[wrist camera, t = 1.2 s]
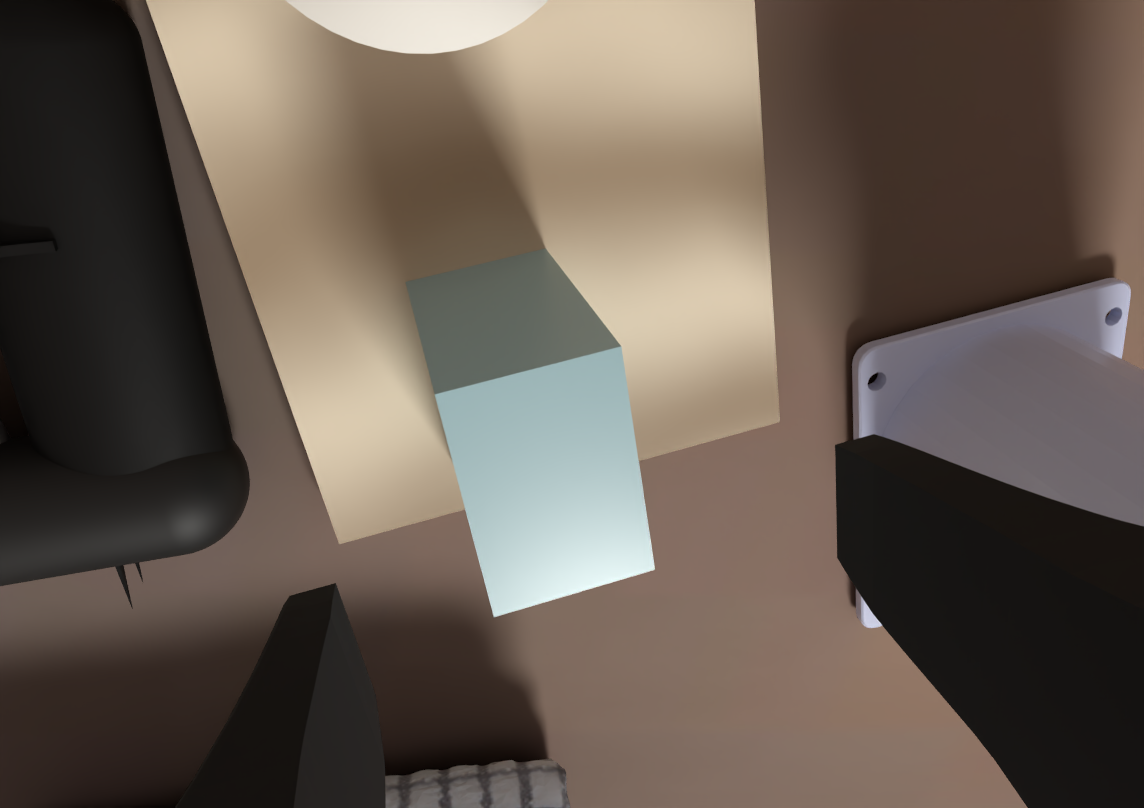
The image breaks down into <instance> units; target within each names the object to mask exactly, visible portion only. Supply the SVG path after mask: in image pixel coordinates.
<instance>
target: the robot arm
mask: <svg viewBox="0 0 1144 808" xmlns="http://www.w3.org/2000/svg"><path fill="white" fill-rule="evenodd" d="M1130 297H1131V288H1130V286H1129V285H1128V283H1126V282H1124V281H1121V280H1119V279H1116V278H1106V279H1103V280H1099V281H1095V282H1091V283H1088V284H1084V285H1080V286H1076V287H1073V288H1069V289H1065V290H1062V291H1058V292H1054V293H1050V294H1047V295H1043V296H1039V297H1035V298H1032V299H1028V300H1024V301H1020V302H1017V303H1013V304H1009V305H1006V306H1002V307H998V308H994V309H991V310H987V311H983V312H979V313H976V314H972V315H968V316H965V317H961V318H957V319H953V320H950V321H946V322H942V323H938V324H935V325H931V326H927V327H924V328H920V329H916V330H912V331H909V332H905V333H901V334H897V335H894V336H890V337H886V338H882V339H879V340H875V341H871V342H868V343H866V344H864V345H863V346H861V347H860V348H859V349H858V350H857V352H856V353H855V355H854V357H853V362H852V382H853V440H851V441H847V442H844V443H840V444H837V445H835V455H836V508H837V558H838V560H839V561H840V563H841V564H842V566H843V568H844V569H845V571H846V573H847V574H848V576H849V578H850V579H851V581H852V582H853V584H854V586H855V587H856V614H857V618H858V619H859V620H860V621H861V623H862V624H863V625H864V626H865V627H868V628H875V627H879V626H883V627H884V628H885V629H886V630H887V632H888V633H889V634H890V635H891V636H892V638H893V639H894V640H895V641H896V642H897V644H898V645H899V646H900V647H901V648H902V650H903V651H904V652H905V653H906V654H907V655H908V657H909V658H910V659H911V660H912V661H913V663H914V664H915V665H916V666H917V667H918V668H919V670H920V671H921V672H922V673H923V674H924V675H925V677H926V678H927V679H928V680H929V681H930V682H931V684H932V685H933V686H934V687H935V688H936V689H937V691H938V692H939V693H940V694H941V695H942V696H943V698H944V699H945V700H946V701H947V702H948V703H949V705H950V706H951V707H952V708H953V709H954V710H955V712H956V713H957V714H958V715H959V716H960V718H961V719H962V720H963V721H964V722H965V723H966V725H967V726H968V727H969V728H970V729H971V730H972V732H973V733H974V734H975V735H976V737H977V738H978V739H979V740H980V742H981V743H982V744H983V746H984V747H985V748H986V749H987V751H988V752H989V753H990V754H991V756H992V757H993V758H994V760H995V761H996V762H997V764H998V765H999V767H1000V768H1001V770H1002V771H1003V773H1004V774H1005V775H1006V777H1007V778H1008V780H1009V781H1010V783H1011V784H1012V786H1013V787H1014V788H1015V790H1016V791H1017V793H1018V794H1019V796H1020V797H1021V799H1022V800H1023V801H1024V803H1025V804H1026V806H1027V807H1028V808H1144V370H1142V369H1140V368H1138V367H1136V366H1134V365H1132V364H1131V363H1129V362H1127V361H1125V360H1123V359H1122V353H1123V346H1124V339H1125V332H1126V325H1127V318H1128V311H1129V304H1130ZM1110 310H1111V311H1110ZM1109 311H1110V314H1109V315H1108V316H1107V317H1106V315H1107V313H1108V312H1109ZM1105 317H1106V318H1105ZM877 372H878V376H877V378H876V380H875V381H874V382H873V383H871V384H869V385H868V381H869V379H870V377H871V376H872V375H873V374H875V373H877ZM175 808H386V794H385V761H384V753H383V746H382V738H381V730H380V723H379V716H378V709H377V702H376V695H375V692H374V689H373V686H372V684H371V681H370V678H369V675H368V672H367V670H366V667H365V664H364V661H363V658H362V656H361V653H360V650H359V647H358V644H357V642H356V639H355V636H354V633H353V630H352V628H351V625H350V622H349V619H348V616H347V614H346V611H345V608H344V605H343V602H342V600H341V597H340V594H339V591H338V588H337V585H336V583H335V584H331V585H327V586H324V587H320V588H317V589H313V590H309V591H306V592H302V593H299V594H295V595H291V596H289V598H288V599H287V601H286V602H285V604H284V605H283V608H282V610H281V612H280V614H279V617H278V619H277V621H276V623H275V626H274V628H273V630H272V632H271V634H270V637H269V639H268V641H267V643H266V645H265V647H264V650H263V652H262V654H261V656H260V658H259V660H258V662H257V664H256V666H255V668H254V670H253V673H252V675H251V677H250V678H249V680H248V682H247V684H246V686H245V688H244V690H243V692H242V694H241V696H240V698H239V700H238V702H237V704H236V705H235V707H234V709H233V711H232V713H231V715H230V717H229V719H228V721H227V722H226V724H225V726H224V728H223V730H222V731H221V733H220V735H219V737H218V738H217V740H216V742H215V743H214V745H213V747H212V748H211V750H210V752H209V754H208V755H207V757H206V759H205V760H204V762H203V764H202V765H201V767H200V769H199V770H198V772H197V774H196V776H195V777H194V779H193V781H192V782H191V784H190V785H189V787H188V788H187V790H186V792H185V793H184V795H183V796H182V798H181V799H180V801H179V802H178V804H177V805H176V807H175Z"/></svg>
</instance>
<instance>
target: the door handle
mask: <svg viewBox="0 0 1144 808" xmlns="http://www.w3.org/2000/svg"><path fill="white" fill-rule="evenodd" d="M0 348H1V351H2V355H3V358H4V361H5V364H6V367H7V370H8V373H9V376H10V379H11V382H12V385H13V388H14V391H15V394H16V397H17V400H18V403H19V407H20V410H21V413H22V416H23V419H24V422H25V425H26V428H27V431H28V434H29V435H28V436H21V437H14V438H10V436H9V434H8V432H7V430H6V428H5V426H4V424H3V422H2V421H1V419H0V586H4V585H9V584H15V583H21V582H27V581H33V580H39V579H45V578H50V577H56V576H62V575H68V574H74V573H80V572H86V571H91V570H97V569H103V568H109V567H116V570H117V572H118V574H119V577H120V579H121V582H122V584H123V587H124V589H125V592H126V594H127V597H128V599H129V602H130V604H131V599H130V594H129V590H128V585H127V580H126V576H125V571H124V566H123V565H126V564H132V563H135V564H136V566H137V569H138V571H139V574H140V577H141V579H142V575H141V570H140V565H139V562H144V561H150V560H156V559H162V558H167V557H173V556H179V555H185V554H190V553H194V552H197V551H200V550H202V549H205V548H207V547H209V546H211V545H212V544H214V543H216V542H217V541H219V540H220V539H221V538H223V537H224V536H225V535H226V534H227V533H228V532H229V531H230V530H231V529H232V528H233V527H234V525H235V524H236V523H237V521H238V520H239V518H240V517H241V515H242V513H243V511H244V508H245V506H246V503H247V500H248V495H249V487H250V479H249V471H248V467H247V463H246V461H245V458H244V456H243V454H242V452H241V450H240V449H239V447H238V446H237V444H236V443H235V442H234V441H233V439H232V434H231V430H230V425H229V421H228V417H227V412H226V408H225V404H224V399H223V395H222V390H221V386H220V382H219V377H218V373H217V369H216V364H215V360H214V355H213V351H212V347H211V342H210V338H209V334H208V329H207V325H206V320H205V316H204V312H203V307H202V303H201V298H200V294H199V290H198V285H197V281H196V277H195V272H194V268H193V263H192V259H191V255H190V250H189V246H188V242H187V237H186V233H185V228H184V224H183V220H182V215H181V211H180V207H179V202H178V198H177V193H176V189H175V185H174V180H173V176H172V172H171V167H170V163H169V158H168V154H167V150H166V145H165V141H164V136H163V132H162V128H161V123H160V119H159V115H158V110H157V106H156V101H155V97H154V93H153V88H152V84H151V80H150V75H149V71H148V66H147V62H146V58H145V53H144V49H143V45H142V40H141V37H140V34H139V31H138V29H137V27H136V26H135V24H134V22H133V21H132V19H131V18H130V17H129V16H128V14H127V13H126V12H125V11H124V10H123V9H122V8H121V7H120V6H118V5H117V4H116V3H115V2H113V1H112V0H0ZM142 582H143V580H142ZM131 607H132V604H131ZM132 609H133V608H132Z"/></svg>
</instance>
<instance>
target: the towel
mask: <svg viewBox="0 0 1144 808" xmlns="http://www.w3.org/2000/svg"><path fill="white" fill-rule="evenodd" d="M385 794H386V808H570V803H569V800H568V796H567V791H566V772H565V769H563V768H562V767H561V766H559V765H558V763H556V762H555V761H553V760H552V759H543V760H534V761H529V762H515V761H513V760H508V761H501V762H493V763H490V764H489V765H485V766H479V765H473V766H468V765H461V766H455V767H452V768H449V769H447V770H441V771H440V770H430V769H427V770H421V771H418V772H415V773H413V774H410V775H405V776H401V775H390V776H385Z"/></svg>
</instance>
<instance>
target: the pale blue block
mask: <svg viewBox="0 0 1144 808" xmlns="http://www.w3.org/2000/svg"><path fill="white" fill-rule="evenodd" d="M406 286H407V290H408V294H409V298H410V302H411V305H412V309H413V313H414V317H415V321H416V325H417V328H418V332H419V336H420V340H421V344H422V348H423V352H424V355H425V359H426V363H427V367H428V371H429V375H430V378H431V382H432V386H433V390H434V394H435V398H436V401H437V405H438V409H439V413H440V416H441V420H442V424H443V428H444V431H445V435H446V439H447V443H448V446H449V450H450V454H451V458H452V461H453V465H454V469H455V473H456V476H457V480H458V484H459V488H460V491H461V495H462V499H463V503H464V506H465V510H466V514H467V518H468V521H469V525H470V529H471V533H472V536H473V540H474V544H475V548H476V551H477V555H478V559H479V563H480V566H481V570H482V574H483V578H484V581H485V585H486V589H487V593H488V596H489V600H490V604H491V608H492V611H493V615H494V617H496V616H500V615H503V614H507V613H510V612H513V611H517V610H520V609H524V608H527V607H530V606H534V605H537V604H540V603H544V602H547V601H551V600H554V599H557V598H561V597H564V596H567V595H571V594H574V593H578V592H581V591H584V590H588V589H591V588H594V587H598V586H601V585H605V584H608V583H611V582H615V581H618V580H621V579H625V578H628V577H632V576H635V575H638V574H642V573H645V572H648V571H652V570H655V567H654V560H653V554H652V547H651V540H650V534H649V527H648V520H647V514H646V507H645V500H644V494H643V487H642V480H641V474H640V467H639V460H638V454H637V447H636V440H635V434H634V427H633V421H632V414H631V407H630V401H629V394H628V387H627V381H626V374H625V367H624V361H623V354H622V347H621V345H620V344H619V343H618V341H617V340H616V339H615V337H614V336H613V335H612V334H611V332H610V331H609V330H608V328H607V327H606V326H605V325H604V323H603V322H602V321H601V319H600V318H599V317H598V315H597V314H596V313H595V312H594V310H593V309H592V308H591V306H590V305H589V304H588V303H587V301H586V300H585V299H584V297H583V296H582V295H581V293H580V292H579V291H578V290H577V288H576V287H575V286H574V284H573V283H572V282H571V281H570V279H569V278H568V277H567V275H566V274H565V273H564V271H563V270H562V269H561V268H560V266H559V265H558V264H557V262H556V261H555V260H554V258H553V257H552V256H551V255H550V253H549V252H548V251H547V249H546V248H545V249H541V250H537V251H533V252H529V253H524V254H520V255H516V256H512V257H508V258H503V259H499V260H495V261H491V262H487V263H482V264H478V265H474V266H470V267H466V268H462V269H457V270H453V271H449V272H445V273H441V274H436V275H432V276H428V277H424V278H420V279H416V280H411V281H407V282H406Z"/></svg>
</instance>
